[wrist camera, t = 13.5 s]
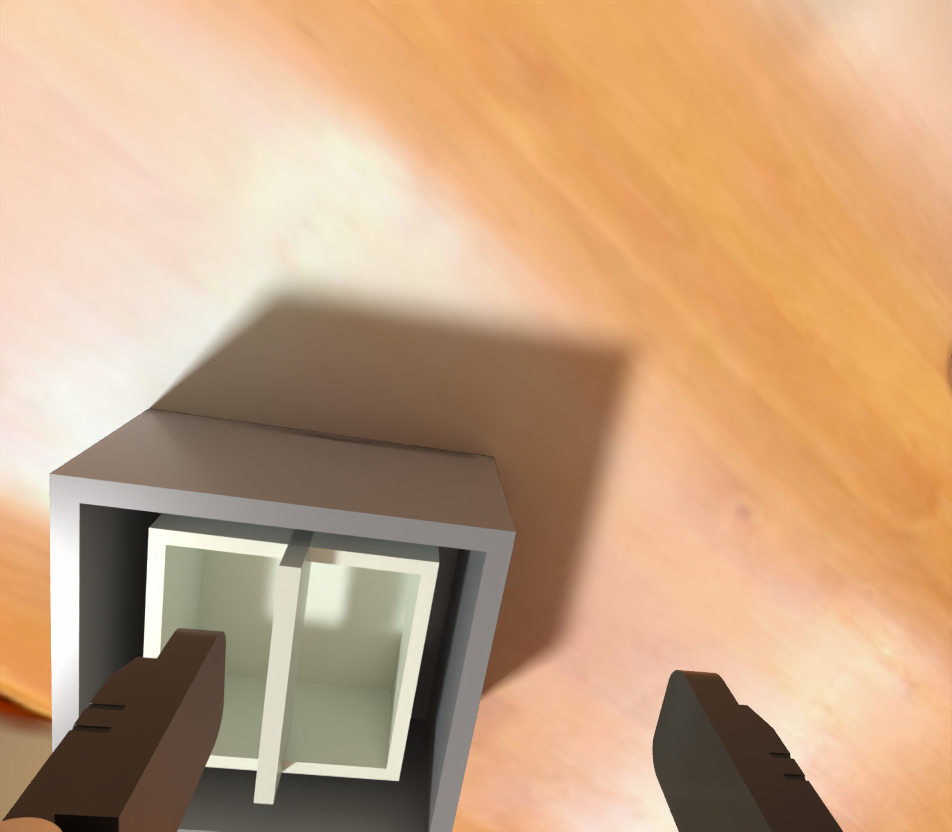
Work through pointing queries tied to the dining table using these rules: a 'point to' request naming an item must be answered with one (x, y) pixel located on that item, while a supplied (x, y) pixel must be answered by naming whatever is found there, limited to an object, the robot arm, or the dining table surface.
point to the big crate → (298, 507)
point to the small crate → (298, 640)
